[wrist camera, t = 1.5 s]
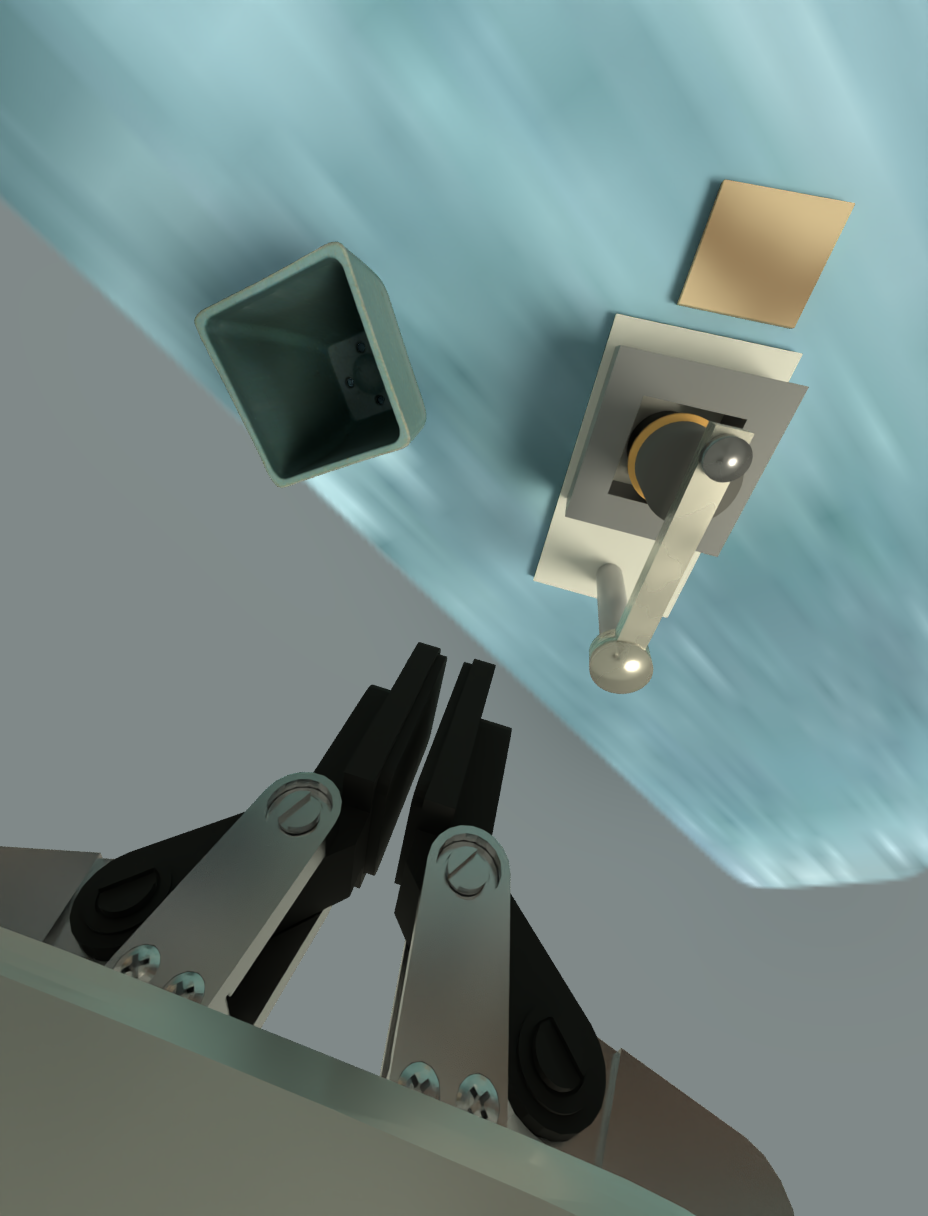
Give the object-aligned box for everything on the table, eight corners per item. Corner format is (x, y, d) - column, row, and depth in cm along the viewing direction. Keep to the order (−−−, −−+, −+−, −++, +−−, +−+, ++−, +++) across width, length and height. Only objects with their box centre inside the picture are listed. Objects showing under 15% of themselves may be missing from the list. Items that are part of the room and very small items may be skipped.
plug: (638, 397, 26) (661, 413, 19) (717, 415, 26) (774, 440, 18) (610, 474, 29) (621, 517, 21) (682, 492, 28) (720, 542, 21)
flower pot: (455, 423, 30) (412, 445, 22) (345, 460, 33) (274, 491, 25) (409, 269, 27) (339, 235, 19) (290, 326, 30) (188, 316, 22)
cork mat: (721, 183, 22) (724, 179, 21) (849, 206, 21) (855, 203, 21) (676, 304, 25) (678, 303, 24) (789, 328, 24) (794, 328, 23)
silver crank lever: (635, 682, 24) (640, 708, 23) (581, 666, 25) (581, 691, 23) (764, 433, 18) (784, 442, 16) (687, 415, 18) (699, 422, 16)
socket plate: (615, 314, 25) (633, 292, 17) (798, 353, 24) (917, 352, 16) (534, 577, 34) (517, 652, 25) (666, 613, 33) (695, 705, 24)
